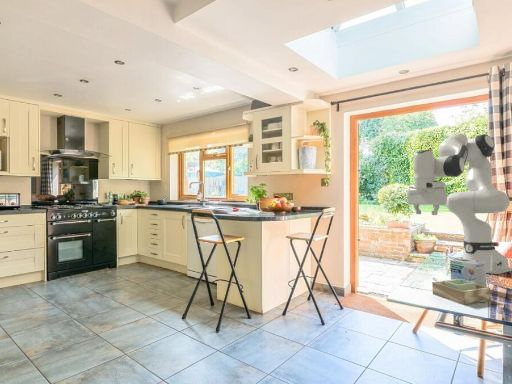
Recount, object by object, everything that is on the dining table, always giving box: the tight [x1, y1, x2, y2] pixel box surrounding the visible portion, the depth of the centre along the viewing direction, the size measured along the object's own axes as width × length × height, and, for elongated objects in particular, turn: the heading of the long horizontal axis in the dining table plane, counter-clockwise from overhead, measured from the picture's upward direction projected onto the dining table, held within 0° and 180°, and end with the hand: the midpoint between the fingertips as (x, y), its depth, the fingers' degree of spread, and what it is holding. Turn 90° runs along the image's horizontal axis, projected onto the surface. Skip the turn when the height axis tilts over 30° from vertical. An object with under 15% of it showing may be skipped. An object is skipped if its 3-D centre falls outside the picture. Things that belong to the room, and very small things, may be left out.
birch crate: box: [431, 279, 492, 305], centre depth 116 cm, size 12×13×4 cm
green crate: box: [443, 279, 476, 291], centre depth 116 cm, size 8×6×5 cm
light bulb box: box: [449, 257, 488, 287], centre depth 128 cm, size 11×7×11 cm, turn 23°
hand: (426, 214), depth 144 cm, fingers open, 8 cm apart
